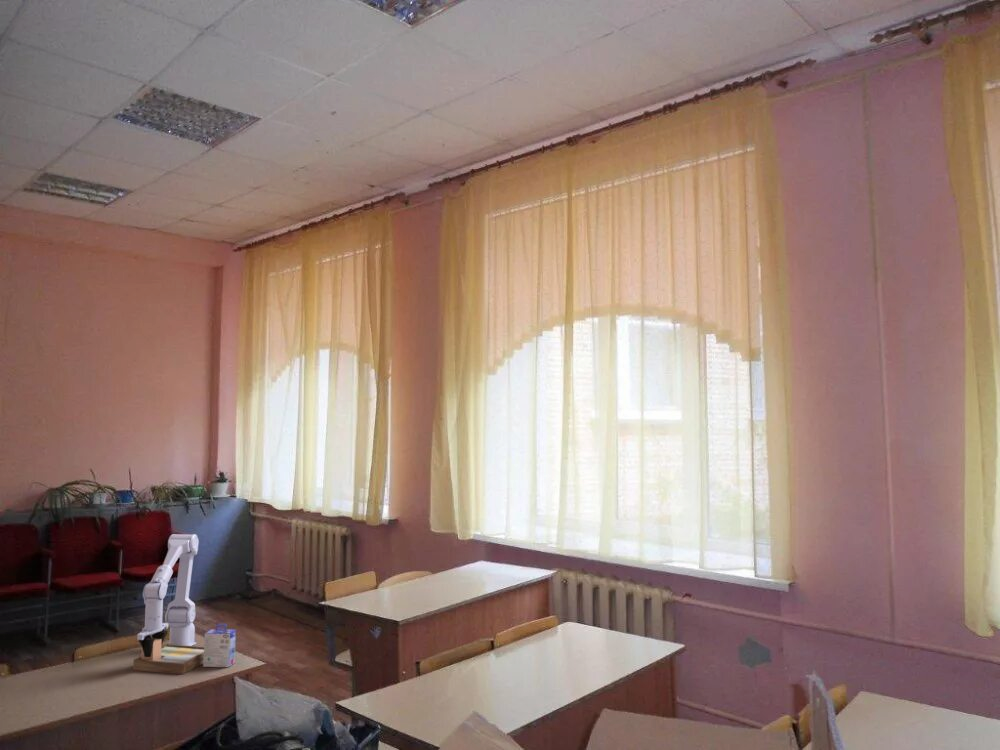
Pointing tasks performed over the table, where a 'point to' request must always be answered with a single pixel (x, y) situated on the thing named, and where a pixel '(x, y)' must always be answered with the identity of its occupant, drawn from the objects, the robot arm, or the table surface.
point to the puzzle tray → (169, 664)
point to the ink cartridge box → (219, 647)
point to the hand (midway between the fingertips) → (152, 654)
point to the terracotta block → (154, 651)
